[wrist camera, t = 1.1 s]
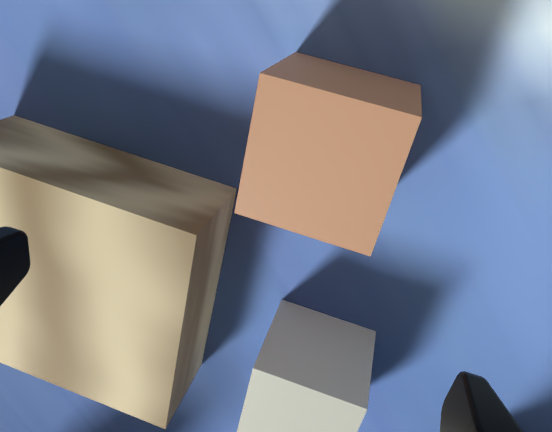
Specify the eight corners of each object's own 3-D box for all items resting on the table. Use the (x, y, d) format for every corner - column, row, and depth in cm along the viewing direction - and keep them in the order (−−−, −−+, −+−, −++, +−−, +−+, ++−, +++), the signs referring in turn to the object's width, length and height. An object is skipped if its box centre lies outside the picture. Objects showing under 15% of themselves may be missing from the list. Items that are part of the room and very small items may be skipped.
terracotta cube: (420, 84, 18) (422, 117, 13) (380, 198, 20) (370, 256, 16) (296, 51, 18) (259, 72, 14) (271, 165, 21) (234, 213, 17)
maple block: (239, 185, 22) (196, 235, 18) (203, 360, 28) (165, 429, 24) (18, 113, 24) (-70, 143, 19) (29, 293, 29) (-37, 347, 25)
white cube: (376, 330, 23) (367, 409, 19) (349, 395, 26) (335, 479, 22) (281, 298, 24) (253, 368, 20) (264, 365, 27) (234, 440, 22)
